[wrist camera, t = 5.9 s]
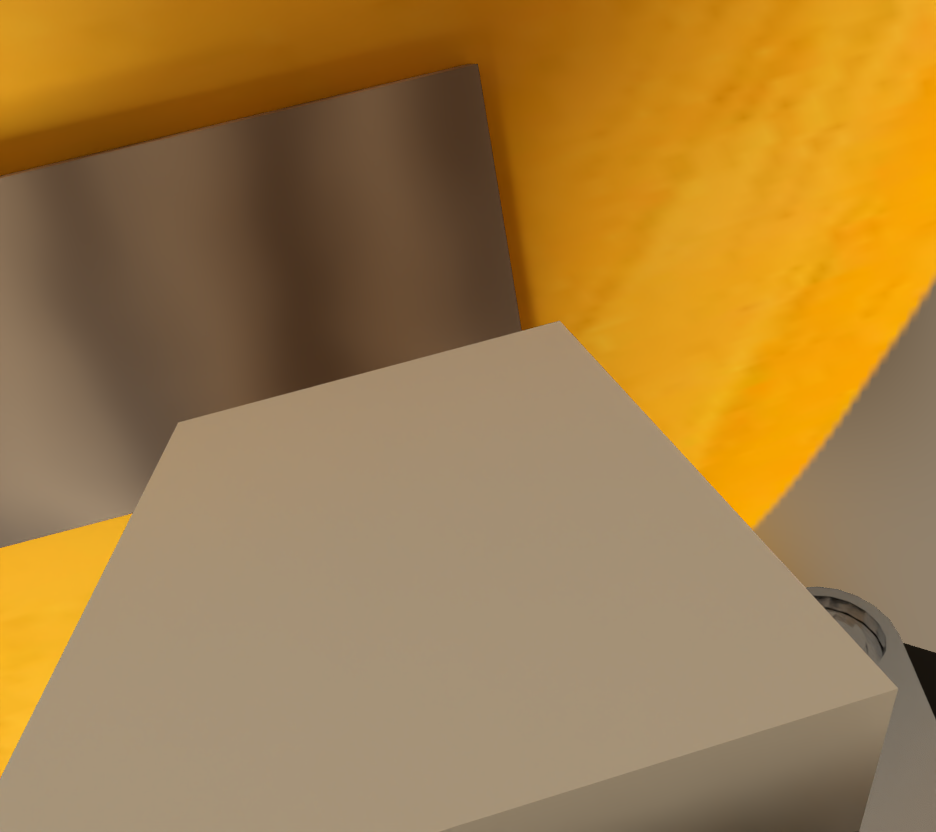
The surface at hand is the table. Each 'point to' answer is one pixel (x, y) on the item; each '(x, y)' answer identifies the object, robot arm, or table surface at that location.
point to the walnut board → (234, 279)
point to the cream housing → (447, 628)
